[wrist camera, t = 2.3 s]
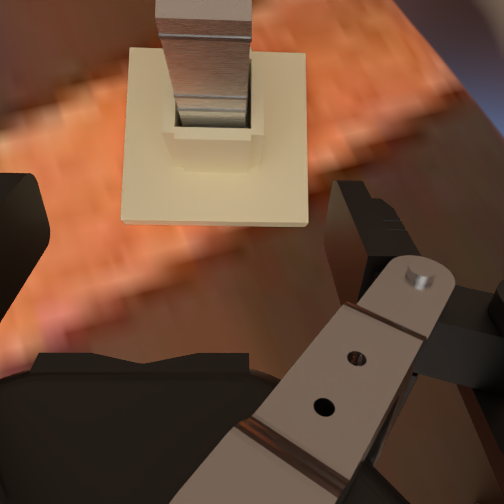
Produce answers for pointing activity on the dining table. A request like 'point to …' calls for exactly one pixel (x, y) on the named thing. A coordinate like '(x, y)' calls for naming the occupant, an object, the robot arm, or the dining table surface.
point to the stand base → (216, 150)
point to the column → (207, 58)
